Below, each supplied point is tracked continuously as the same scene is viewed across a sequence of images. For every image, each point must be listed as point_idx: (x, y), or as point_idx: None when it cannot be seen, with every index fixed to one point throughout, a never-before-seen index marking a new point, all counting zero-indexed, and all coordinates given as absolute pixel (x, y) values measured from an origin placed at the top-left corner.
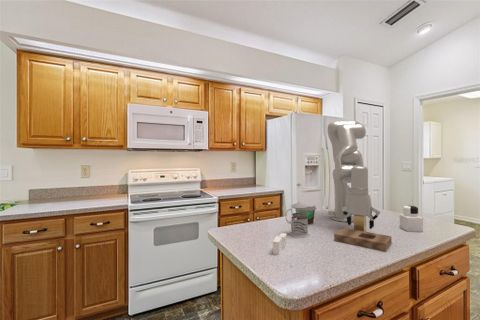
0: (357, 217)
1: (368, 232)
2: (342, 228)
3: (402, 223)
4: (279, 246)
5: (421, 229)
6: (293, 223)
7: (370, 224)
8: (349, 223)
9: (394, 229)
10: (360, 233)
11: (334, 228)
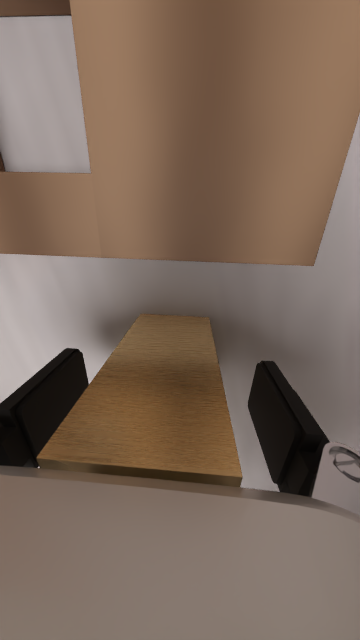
0: (164, 433)
1: (50, 244)
2: (322, 229)
3: None
4: None
5: None
6: None
7: (41, 374)
8: (264, 372)
9: None
10: (90, 132)
11: (357, 363)
